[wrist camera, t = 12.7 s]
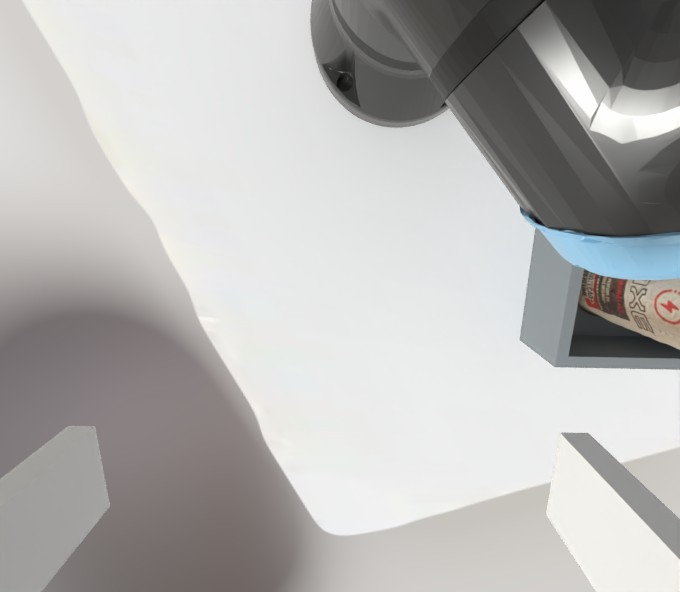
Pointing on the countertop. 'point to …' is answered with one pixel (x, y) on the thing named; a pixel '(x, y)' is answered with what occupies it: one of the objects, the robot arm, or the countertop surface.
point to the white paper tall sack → (635, 304)
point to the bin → (579, 322)
